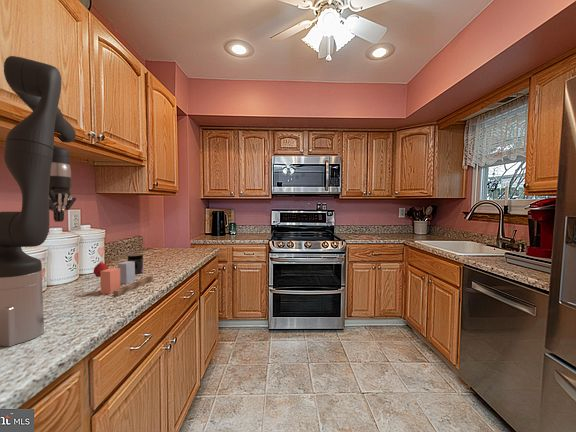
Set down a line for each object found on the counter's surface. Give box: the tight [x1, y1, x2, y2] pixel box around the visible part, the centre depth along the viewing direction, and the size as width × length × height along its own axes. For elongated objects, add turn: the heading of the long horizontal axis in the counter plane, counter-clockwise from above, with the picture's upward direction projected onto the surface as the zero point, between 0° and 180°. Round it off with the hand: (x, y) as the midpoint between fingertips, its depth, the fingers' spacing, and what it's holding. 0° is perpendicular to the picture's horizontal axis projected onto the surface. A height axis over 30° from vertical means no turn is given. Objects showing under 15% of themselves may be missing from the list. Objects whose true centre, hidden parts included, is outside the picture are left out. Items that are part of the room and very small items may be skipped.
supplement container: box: [126, 253, 144, 276], centre depth 129 cm, size 7×7×10 cm
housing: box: [112, 276, 154, 297], centre depth 108 cm, size 20×14×3 cm
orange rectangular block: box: [99, 267, 122, 295], centre depth 102 cm, size 5×4×8 cm
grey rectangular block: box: [117, 260, 136, 285], centre depth 114 cm, size 5×4×8 cm
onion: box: [93, 260, 110, 277], centre depth 124 cm, size 6×6×8 cm
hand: (59, 221), depth 101 cm, fingers closed
